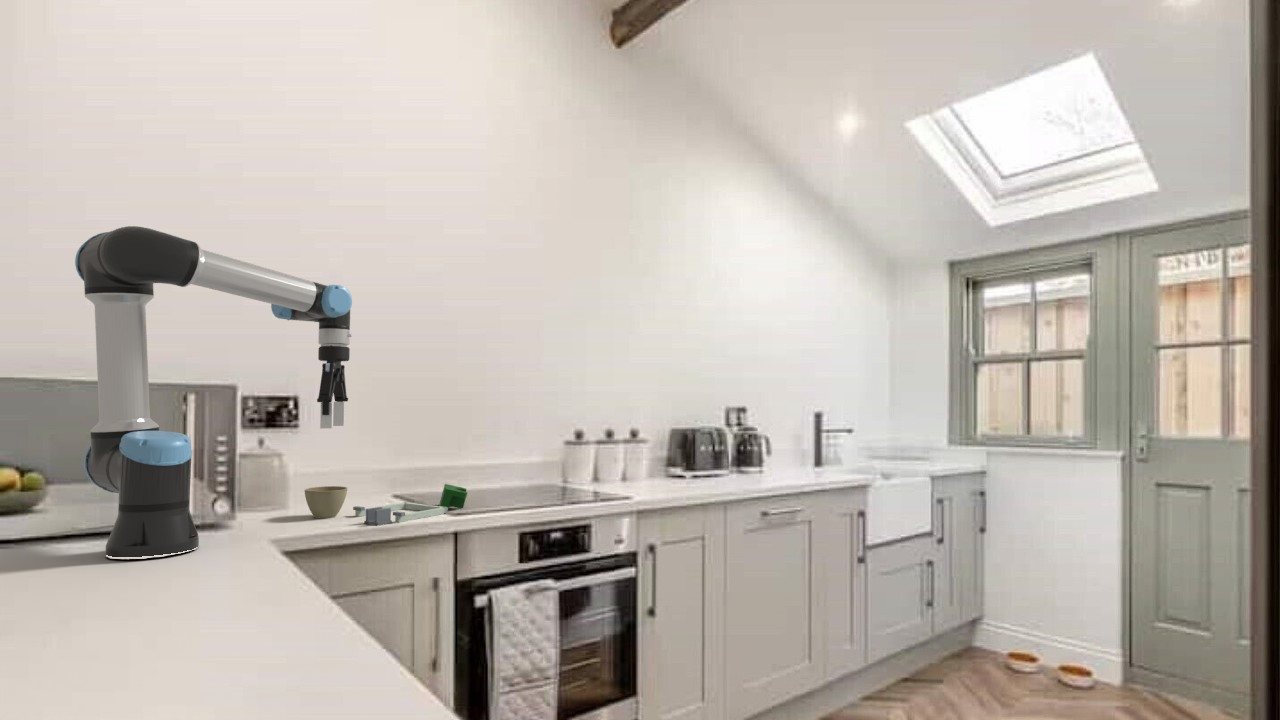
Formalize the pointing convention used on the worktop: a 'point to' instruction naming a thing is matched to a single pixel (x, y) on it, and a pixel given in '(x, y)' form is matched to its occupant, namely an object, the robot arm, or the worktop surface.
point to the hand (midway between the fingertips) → (332, 427)
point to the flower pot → (325, 500)
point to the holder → (401, 516)
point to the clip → (378, 516)
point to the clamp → (453, 496)
